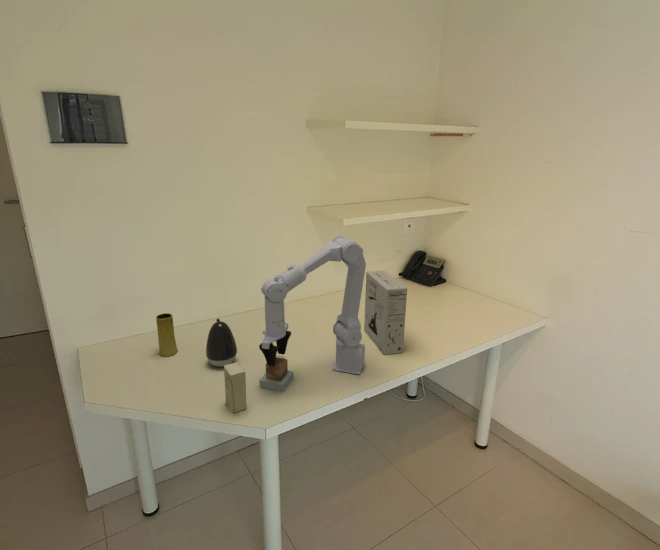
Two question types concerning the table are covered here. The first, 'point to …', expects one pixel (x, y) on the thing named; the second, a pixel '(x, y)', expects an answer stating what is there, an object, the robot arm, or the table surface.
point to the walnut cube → (277, 370)
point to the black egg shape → (220, 345)
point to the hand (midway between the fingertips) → (276, 359)
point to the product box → (385, 311)
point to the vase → (166, 335)
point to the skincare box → (235, 387)
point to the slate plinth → (277, 382)
